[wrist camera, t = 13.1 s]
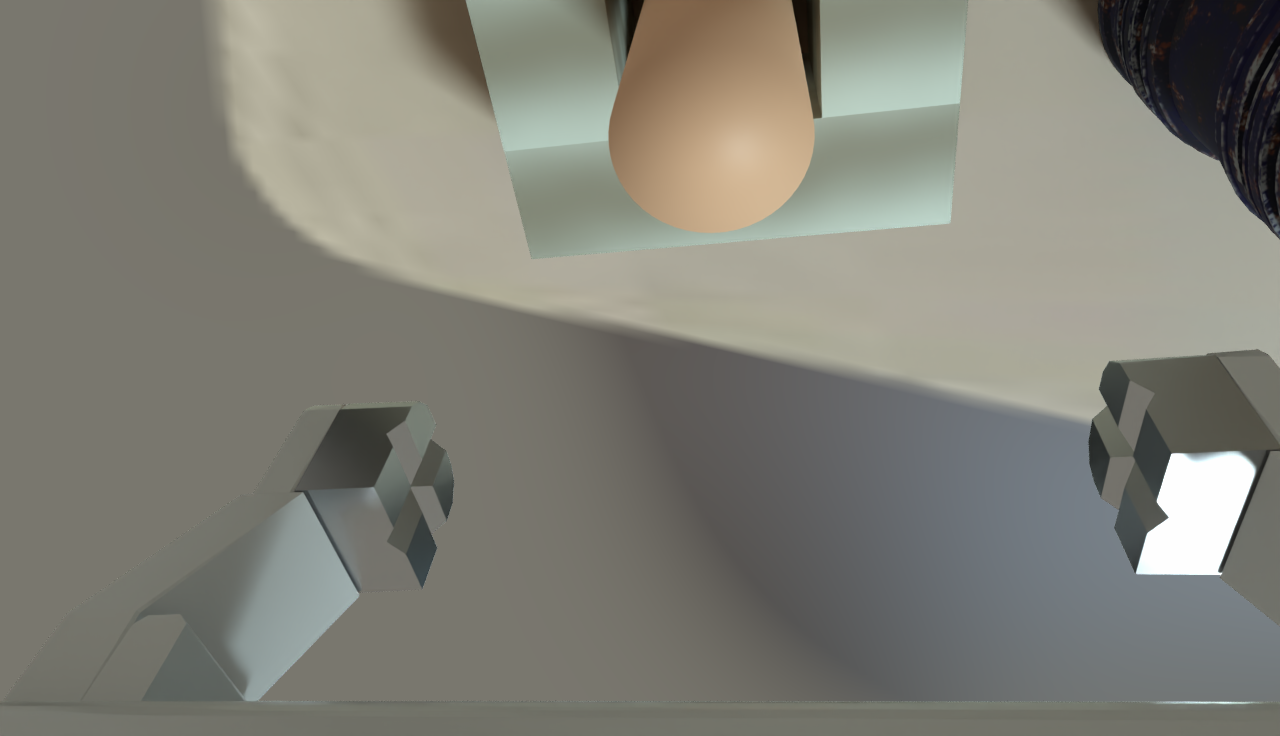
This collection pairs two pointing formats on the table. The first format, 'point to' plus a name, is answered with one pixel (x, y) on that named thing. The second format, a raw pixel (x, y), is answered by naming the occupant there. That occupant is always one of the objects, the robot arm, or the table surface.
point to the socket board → (840, 100)
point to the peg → (712, 113)
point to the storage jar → (1208, 82)
